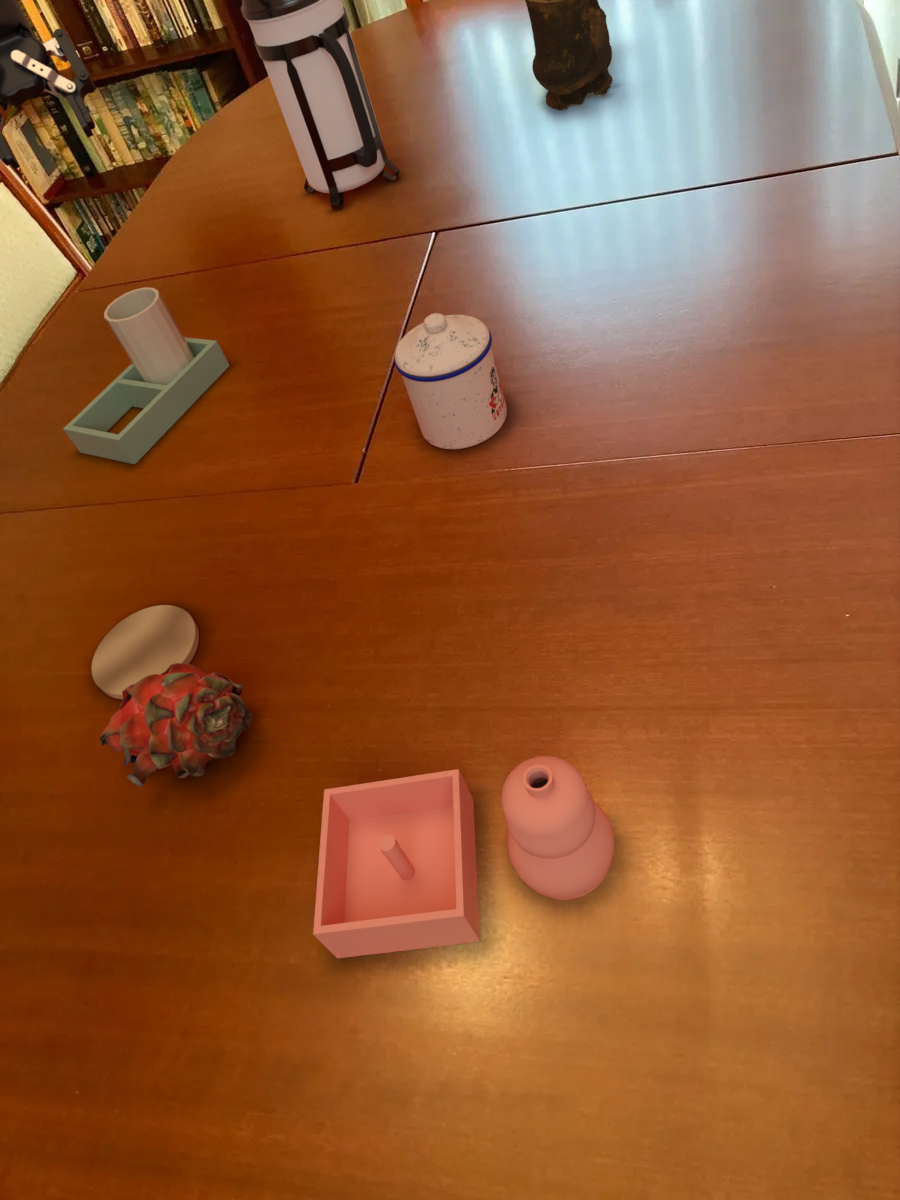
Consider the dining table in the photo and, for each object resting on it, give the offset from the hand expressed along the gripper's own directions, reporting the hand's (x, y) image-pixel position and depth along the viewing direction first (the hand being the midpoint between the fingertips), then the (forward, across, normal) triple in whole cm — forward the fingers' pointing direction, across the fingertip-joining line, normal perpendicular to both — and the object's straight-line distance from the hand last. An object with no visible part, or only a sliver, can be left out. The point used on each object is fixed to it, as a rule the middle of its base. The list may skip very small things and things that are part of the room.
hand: (51, 148), depth 94 cm
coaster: (+54, -11, -19) cm, 58 cm away
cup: (+26, 0, +9) cm, 27 cm away
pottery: (+77, +7, -42) cm, 87 cm away
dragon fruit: (+63, -8, -28) cm, 69 cm away
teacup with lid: (+46, +25, -11) cm, 53 cm away
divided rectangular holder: (+27, -3, +7) cm, 28 cm away
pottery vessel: (+5, +70, +30) cm, 76 cm away
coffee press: (+4, +34, +31) cm, 46 cm away
